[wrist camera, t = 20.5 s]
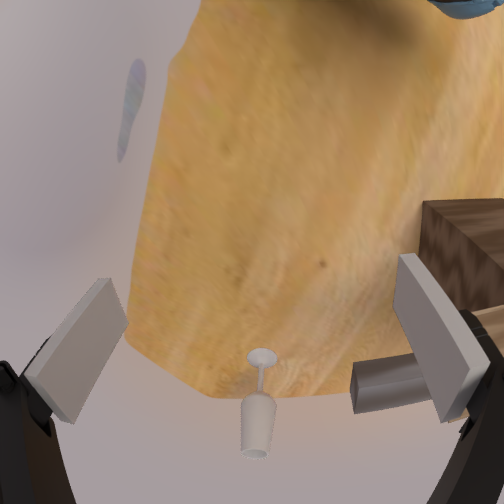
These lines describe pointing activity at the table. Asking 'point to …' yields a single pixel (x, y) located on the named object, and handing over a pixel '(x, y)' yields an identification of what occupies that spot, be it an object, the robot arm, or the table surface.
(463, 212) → the dark stand
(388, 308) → the table surface
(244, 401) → the champagne flute
